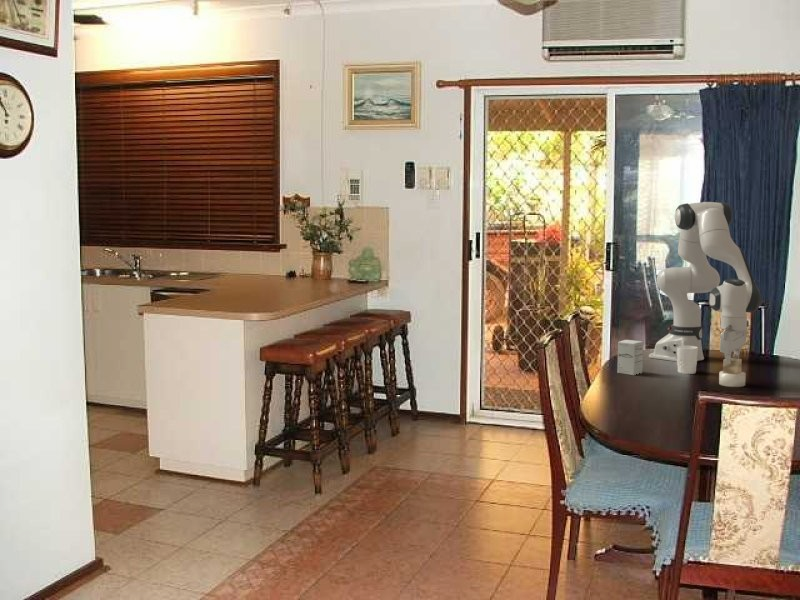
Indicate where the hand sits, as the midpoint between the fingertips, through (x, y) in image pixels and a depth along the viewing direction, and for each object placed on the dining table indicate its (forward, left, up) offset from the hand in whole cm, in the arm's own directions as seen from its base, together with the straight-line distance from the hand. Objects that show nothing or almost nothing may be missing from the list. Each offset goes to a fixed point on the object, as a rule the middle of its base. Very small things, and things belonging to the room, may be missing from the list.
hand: (732, 361), depth 320 cm
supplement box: (-39, 0, -9) cm, 40 cm away
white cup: (-21, +13, -9) cm, 26 cm away
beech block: (0, 0, -4) cm, 4 cm away
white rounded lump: (0, 0, -9) cm, 9 cm away
